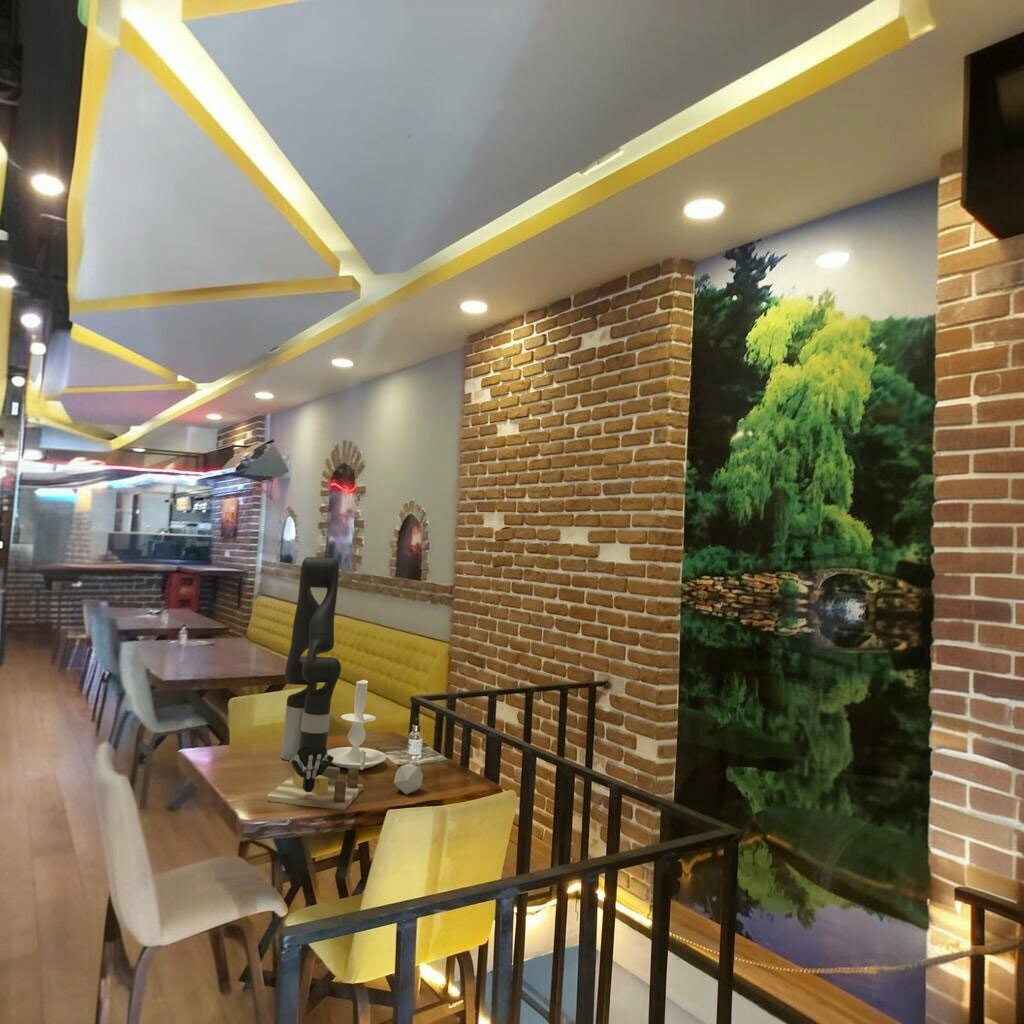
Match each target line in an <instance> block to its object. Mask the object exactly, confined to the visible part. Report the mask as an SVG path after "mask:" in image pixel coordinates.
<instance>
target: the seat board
mask: <svg viewBox="0 0 1024 1024" xmlns="http://www.w3.org/2000/svg"><path fill="white" fill-rule="evenodd" d="M347 770H348V771H347V772H348V773H347V781H346V780H340V774H341V767H339V766H330V765H329V766H328V767H327V768H326V770H325V771H324V772H323V774H322V775H321V776H324V777H326V778H329V782H328V792H327V793H325V794H320V795H318V794H316V793H313V792H305V791H304V789H303V788H302V787H300V786H298V785H295V784H293V780H294V776H290V777H288V778H287V779H286V780H284V781H283V782H282V783H281V784H280V785H278V786H276V788H275V789H274V790H272V791H271V792H270V793H269V794H268V795H267V794H266V795H267V796H266V802H269V801H270V803H271V802H272V803H278V802H281V804H287V803H288V804H289V805H296V806H297V805H298V806H307V807H313V808H315V807H316V808H322V809H323V808H324V809H332V810H340V811H341V810H342V811H346V809H347V808H348V807H349V806H350V805H351V803H353V802H354V800H355V799H356V798H357V796H358V795H360V793H361V791H362V790H363V786H364V785H363V784H359V773H360V769H358V768H348V769H347Z"/></svg>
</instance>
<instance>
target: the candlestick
mask: <svg viewBox="0 0 1024 1024" xmlns="http://www.w3.org/2000/svg"><path fill="white" fill-rule="evenodd" d="M368 683H369V681H368V680H366V679H361V680H358V681H356V682H355V690H354V700H353V701H354V707H353V711H354V713H345V714H343V715H341V716H340V718H341V719H342V720H344V721H347V722H351V724H352V725H351V728H350V729H349V731H348V733H347V739H348V742H349V743H350V745H351V746H346V747H344V746H343V747H336V748H335V747H334V748H331V749H327V753H328V754H329V755H330V756H332V757H333V761H332V762H331V763H330V764H333V765H335V767H338V768H344V769H349V768H358V769H359V771H360V770H361V771H363V770H364V769H368V768H372V767H375V766H376V765H379V764H380V763H383V762H384V761H386V759H387V754H385V753H384V752H382V751H380V750H376V749H374V748H368V747H360V745H362V743H364V741H365V739H366V735H367V734H366V731H365V729H364V724H365V723H368V722H373V721H375V720H377V717H376V716H375V715H371V714H367V713H364V712H365V707H366V706H367V705H366V704H367V695H368V694H367V693H368V686H369V685H368Z"/></svg>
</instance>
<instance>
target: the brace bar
mask: <svg viewBox="0 0 1024 1024" xmlns="http://www.w3.org/2000/svg"><path fill="white" fill-rule="evenodd" d="M298 765H299V766H300V768H301V769H302V771H303V764H302V762H301V761H300V759H299V764H298ZM293 771H294V772H293V773H294V774H293V777H294V780H293V784H295V785H298V786H300V787H302V788H303V779H304V778H302V777H301V776H299V775H298V774H297V773H296V771H295V770H294V769H293ZM328 782H329V778H326V777H324V776H321V775H318V776H317V777H316V778H315V784H314V789H312V792H313V793H316V794H318V795H320V794H325V793H327V792H328Z"/></svg>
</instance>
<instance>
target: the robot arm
mask: <svg viewBox="0 0 1024 1024" xmlns="http://www.w3.org/2000/svg"><path fill="white" fill-rule="evenodd" d="M339 568H340V566H339V562H338V560H337V559H336V558H335V557H334V558H333V557H320V556H319V557H318V556H307V557H305V558H304V559H303V561H302V563H301V567H300V575H299V586H298V587H299V588H298V596H297V597H298V599H297V604H296V609H295V613H294V619H293V625H292V635H291V641H290V642H291V643H290V648H289V651H288V652H289V653H288V657H287V660H286V664H285V665H286V666H285V672H284V679H285V682H286V683H287V684H289V685H294V686H295V685H296V686H297V685H299V686H302V685H303V686H306V687H305V688H304V689H302V690H301V691H298V692H295V693H292V694H289V695H288V696H287V699H286V707H285V717H284V726H283V736H282V737H283V738H282V744H281V755H280V756H281V759H282V760H284V761H288V763H289V764H290V765H291V767H292V769H293V771H294V770H295V771H296V773H297V774H298V775H299V776H301V777H302V778H304V779H303V789H304V791H305V792H312V789H314V784H315V778H316V777H317V776H318V775H322V774H323V772H324V771H325V770H326V768H327V767H328V766H329V767H330V764H332V763H331V762H332V761H333V757H332V756H330V755H329V754H328V753H327V751H328V748H327V745H328V738H329V737H328V736H329V729H330V713H331V712H330V711H331V702H332V696H333V694H334V691H335V688H336V685H337V683H338V680H339V679H340V675H341V672H342V665H341V662H340V660H339V659H338V658H336V657H331V656H330V657H326V656H324V657H323V656H320V657H319V656H318V655H320V654H325V653H328V652H330V651H332V650H333V648H334V647H335V613H336V608H337V607H336V606H337V599H338V597H337V596H338V589H339V579H340V577H339V576H340V569H339ZM311 588H315V589H316V588H320V589H321V588H322V589H326V594H325V597H324V599H323V600H322V602H321V604H319V603H318V601H317V600H316V598H315V597H314V595H313V592H312V590H311ZM305 651H307V652H306V656H302V655H303V654H304V653H305ZM318 683H322V684H323V683H324V685H322V687H319V688H318ZM299 759H300V761H301V762H302V764H303V771H302V769H301V768H300V766H299V765H298V764H299Z"/></svg>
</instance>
